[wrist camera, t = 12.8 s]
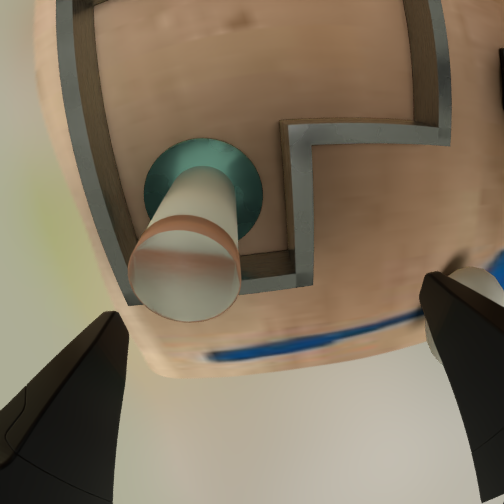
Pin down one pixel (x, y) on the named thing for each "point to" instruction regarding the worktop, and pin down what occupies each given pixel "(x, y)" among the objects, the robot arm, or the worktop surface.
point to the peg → (190, 250)
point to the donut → (479, 283)
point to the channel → (232, 159)
